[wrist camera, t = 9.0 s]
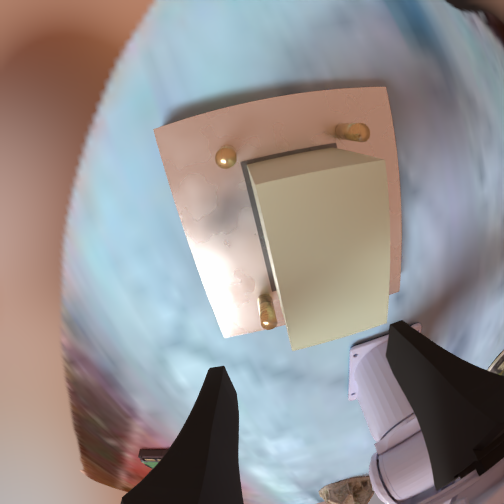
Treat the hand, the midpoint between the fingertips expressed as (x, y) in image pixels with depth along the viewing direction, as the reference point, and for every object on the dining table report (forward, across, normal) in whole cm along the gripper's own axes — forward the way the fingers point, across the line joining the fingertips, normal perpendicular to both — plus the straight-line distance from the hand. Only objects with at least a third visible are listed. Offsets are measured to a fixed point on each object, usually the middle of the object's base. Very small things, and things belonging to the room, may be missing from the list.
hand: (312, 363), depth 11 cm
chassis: (+9, -2, -3) cm, 10 cm away
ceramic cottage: (+10, -9, +73) cm, 74 cm away
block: (+8, -2, -3) cm, 9 cm away
